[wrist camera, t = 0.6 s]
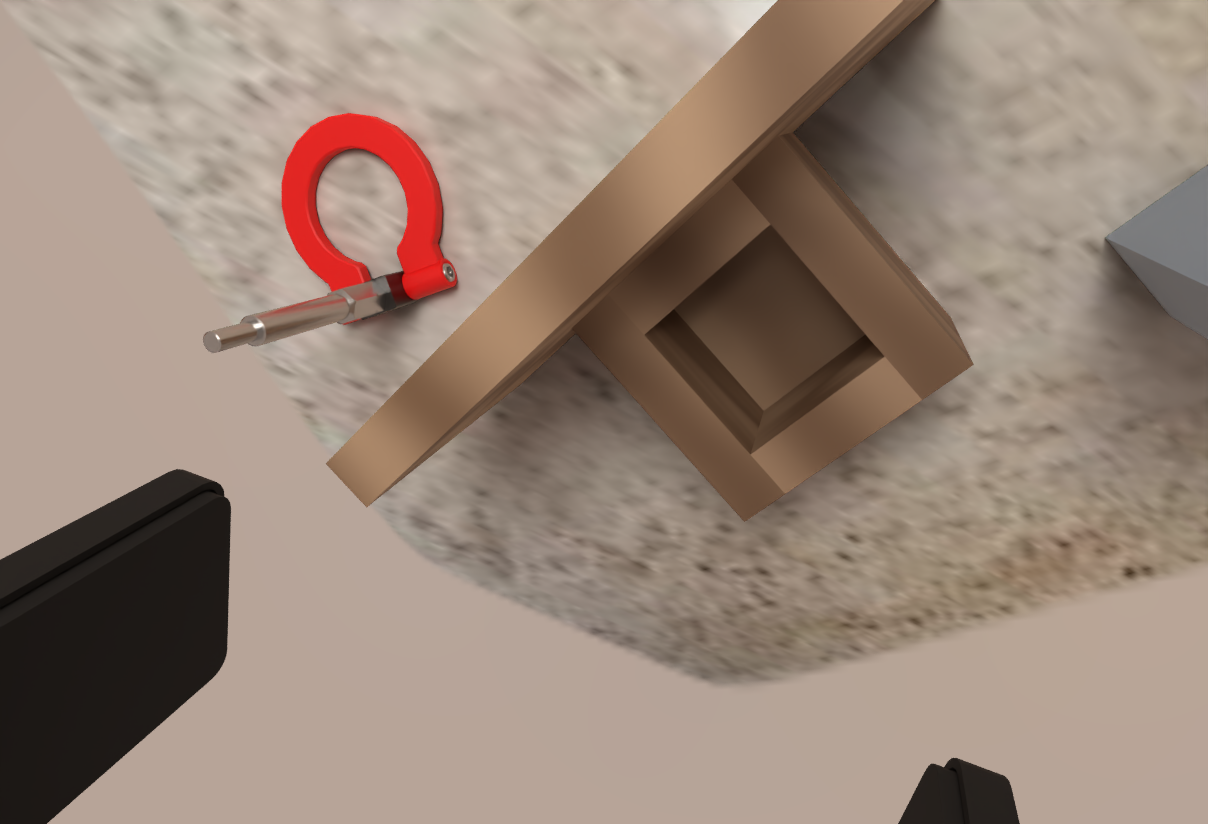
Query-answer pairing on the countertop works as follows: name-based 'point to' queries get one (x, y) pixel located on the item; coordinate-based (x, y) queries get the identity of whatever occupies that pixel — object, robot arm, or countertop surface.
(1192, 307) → the plain blue gray block
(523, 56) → the countertop surface
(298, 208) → the tow hook
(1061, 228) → the countertop surface
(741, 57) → the small wooden stand
